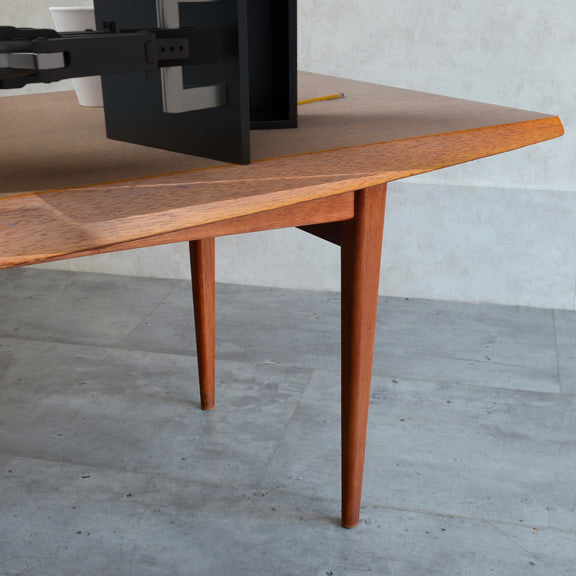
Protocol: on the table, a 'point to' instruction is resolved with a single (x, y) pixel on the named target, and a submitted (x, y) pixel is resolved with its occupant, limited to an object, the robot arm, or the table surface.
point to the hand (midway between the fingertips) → (202, 44)
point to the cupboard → (272, 64)
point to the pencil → (320, 98)
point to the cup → (80, 21)
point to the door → (182, 82)
